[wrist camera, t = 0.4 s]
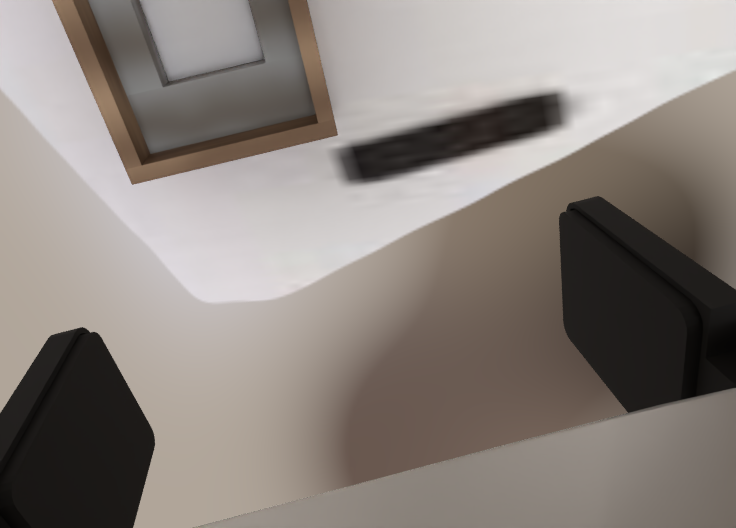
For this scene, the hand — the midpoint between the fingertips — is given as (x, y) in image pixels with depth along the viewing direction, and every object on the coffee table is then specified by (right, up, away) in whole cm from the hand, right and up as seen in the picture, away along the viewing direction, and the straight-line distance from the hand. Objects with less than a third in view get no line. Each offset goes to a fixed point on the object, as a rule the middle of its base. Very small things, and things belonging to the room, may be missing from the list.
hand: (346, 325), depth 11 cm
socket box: (-10, +17, +23) cm, 30 cm away
